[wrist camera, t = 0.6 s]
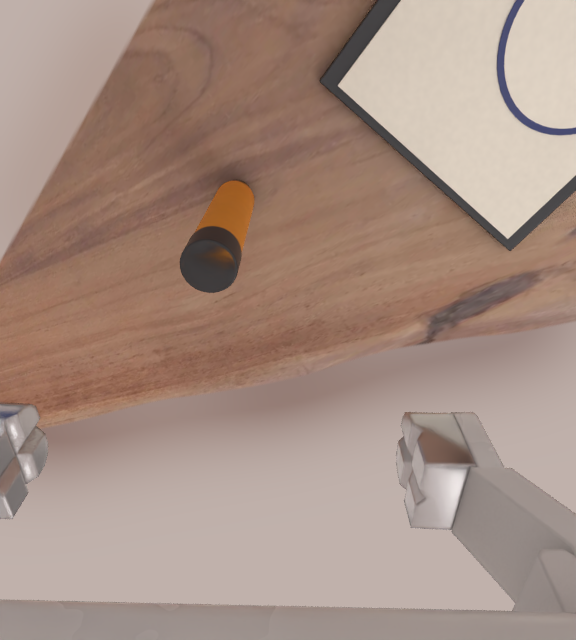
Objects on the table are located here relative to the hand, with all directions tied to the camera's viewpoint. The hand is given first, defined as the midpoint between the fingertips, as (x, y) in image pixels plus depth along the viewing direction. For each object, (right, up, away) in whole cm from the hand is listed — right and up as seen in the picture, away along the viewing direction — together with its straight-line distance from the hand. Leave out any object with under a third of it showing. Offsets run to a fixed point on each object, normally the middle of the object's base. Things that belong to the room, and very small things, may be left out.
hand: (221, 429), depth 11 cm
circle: (+19, +19, +17) cm, 32 cm away
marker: (-2, +11, +23) cm, 25 cm away
